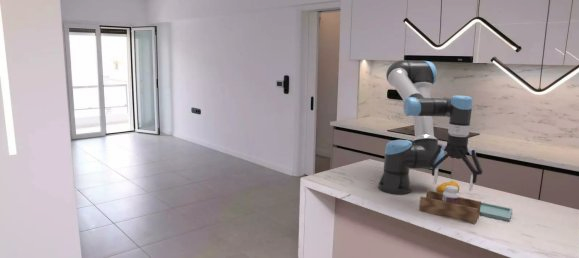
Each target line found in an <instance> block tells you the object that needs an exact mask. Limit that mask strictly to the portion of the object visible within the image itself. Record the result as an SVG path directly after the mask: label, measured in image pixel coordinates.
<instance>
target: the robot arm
mask: <svg viewBox="0 0 579 258" xmlns="http://www.w3.org/2000/svg"><path fill="white" fill-rule="evenodd" d="M437 75H438V74H437V68H436V65H435V64H434V63H433V62H432V61H428V60H407V59H402V60H401V59H400V60H396V61H395V62H393V63H391V64H390V66H388V68H387V70H386V75H385V76H386V81H387V82H388V84H389V85H390V86H391V87H394V89H395V90H396V92H397V93H398V95H399V96H400V97H401V99H402V100H403V107H402V108H403V113H404V114H405V115H406V116H411V117H413V126H414V127H413V128H414V139H412V141H411V140H407V139H396V140H390V141H388V142H387V143H386V145H385V149H384V158H383V160H384V163H383V171H382V175H381V177H380V178H379V181H378V186H377V187H378V189H379V190H380V191H381V192H384V193H388V194H393V195H406V194H407V195H408V194H410V193H411V192H412V183H411V179H410V169H420V170H421V169H422V170H424V169H425V170H426V169H427V170H431V176H433V182H432V183H433V185H436V184H437V183H438V175H439V168H440V166H441V165H442V164H443V162H444V161H445V160H446V159H447V158H448V157H449V158H451V159H457V160H461V159H462V161H463V163H465V165H466V166H467V168H468V169H469V170H470V172H471V174H470V181H469V182H470V183H469V189H468V191H469V192H472V191H473V187H474V184H476V182H477V179H478V175H482V174H483V173H484V171H483V169H482V166H481V164H480V161H479V158H478V157H477V149H476V148H471V149H470V148H469V149H468V144H469V143H468V142H469V135H470V125H471V118H472V109H473V98H472V97H471V96H468V95H457V94H456V95H453V96H452V97H451V98H450V97H442V98H440V97H439V98H437V97H431V88H433V85H434V84H435V83H436V81H437ZM433 117H443V118H444V117H445V118H446V117H447V118H449V122H448V129H447V134H448V135H447V141H446V145H443V144H440V143H439V140H438V138H437V137H435V133H434V132H435V131H434V121H433ZM445 151H446V154H445ZM468 153H469V155H470V156H471V159H472V160H473V163H474V165H473V164H472V163H471V161H470V160H469V158H468V156H467V154H468ZM474 166H475V167H474Z"/></svg>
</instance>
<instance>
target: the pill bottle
mask: <svg viewBox="0 0 579 258" xmlns="http://www.w3.org/2000/svg"><path fill="white" fill-rule="evenodd" d="M445 190H446V191H444V192H443V198H442V201H445V202H449V203H454V204H458V203H459V197H460V194H459V192H458V188H457V187H455V186H446V188H445ZM457 192H458V193H457Z"/></svg>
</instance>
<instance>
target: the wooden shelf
mask: <svg viewBox="0 0 579 258" xmlns="http://www.w3.org/2000/svg"><path fill="white" fill-rule="evenodd" d="M425 195H426V196H420V197H419V210H418V211H420V212H423V213H427V214H432V215H435V216H440V217H444V218H449V219H453V220H456V221H461V222H465V223H469V224H474V225H476V223H477V221H478V220H479V218H480V216H481V215H480V208H481V202H482V201H480V200H476V199H471V198H466V197H461V196H459V203H458V204H454V203H449V202H445V201H442V198H443V193H438V192H436V191H433V190H429V189H427V190H426V194H425Z"/></svg>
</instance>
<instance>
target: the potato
mask: <svg viewBox="0 0 579 258" xmlns="http://www.w3.org/2000/svg"><path fill="white" fill-rule="evenodd" d="M446 186H455V187H457V188H458V192H457V193H458V194H459V191H460V185H459V184H458V182H456V181H454V180H452V181H451V180H450V181H446V182H442V183H440V184H439V185H437V187H436V190H435V192H438V193H443V192H444V191H446V190H445V188H446Z"/></svg>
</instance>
